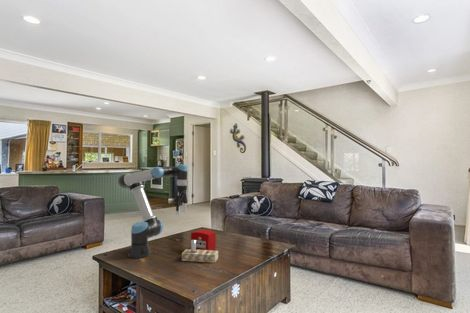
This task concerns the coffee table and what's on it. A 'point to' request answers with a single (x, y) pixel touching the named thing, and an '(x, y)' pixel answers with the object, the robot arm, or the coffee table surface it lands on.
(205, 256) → the bore block
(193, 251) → the pin
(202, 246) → the fire alarm
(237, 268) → the coffee table surface
